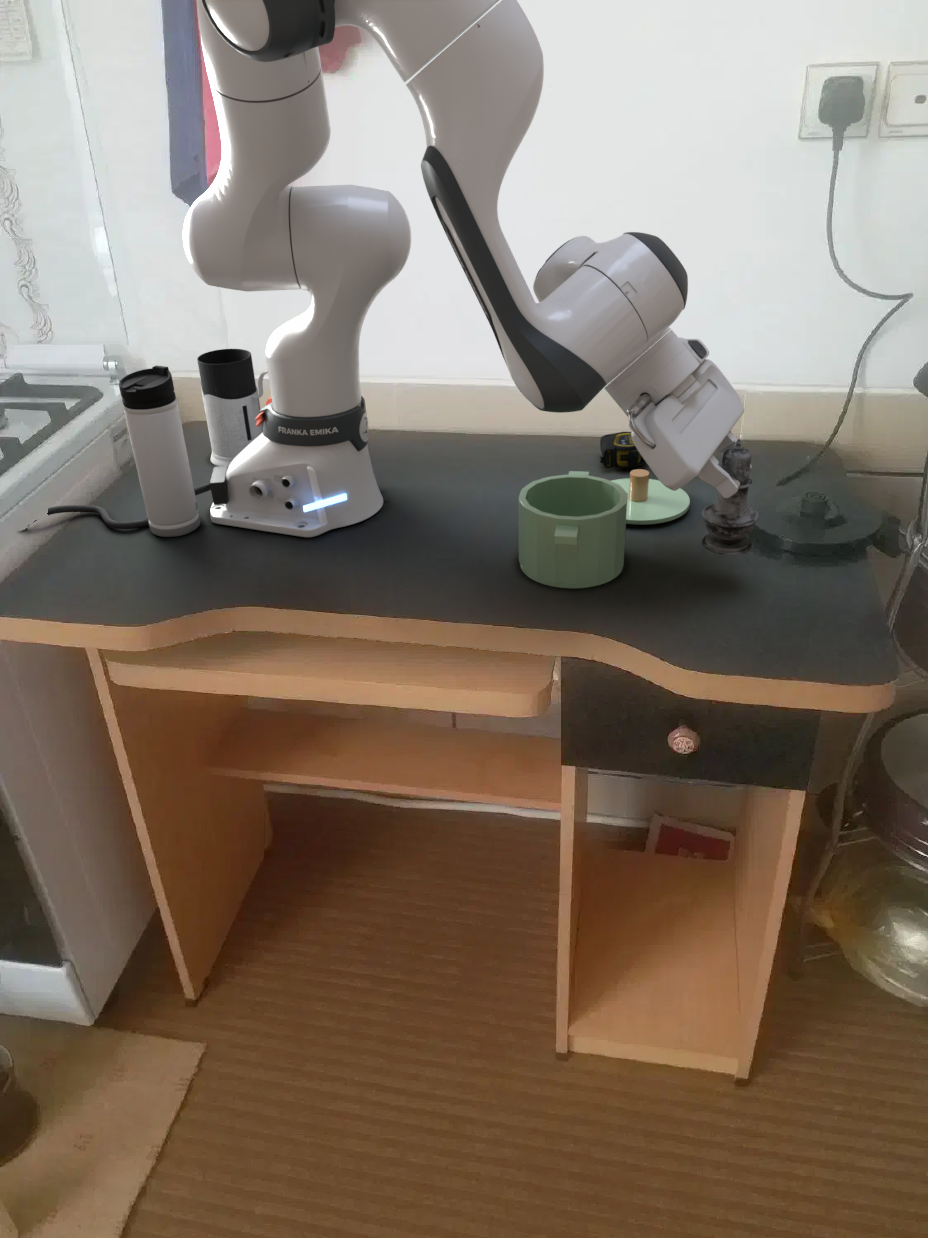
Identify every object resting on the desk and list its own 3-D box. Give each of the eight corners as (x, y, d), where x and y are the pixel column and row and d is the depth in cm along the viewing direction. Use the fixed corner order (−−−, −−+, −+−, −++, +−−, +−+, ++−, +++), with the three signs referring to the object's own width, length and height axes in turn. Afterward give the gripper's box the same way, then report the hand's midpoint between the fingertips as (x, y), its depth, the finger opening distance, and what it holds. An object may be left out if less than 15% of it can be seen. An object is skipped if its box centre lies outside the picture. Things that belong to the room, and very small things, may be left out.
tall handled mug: (234, 442, 152) (218, 344, 144) (312, 454, 146) (300, 354, 138) (198, 462, 145) (179, 361, 137) (278, 476, 139) (263, 372, 132)
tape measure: (599, 454, 142) (600, 429, 140) (647, 454, 142) (649, 429, 140) (599, 473, 136) (600, 447, 135) (649, 473, 136) (651, 447, 134)
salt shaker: (756, 558, 104) (770, 451, 97) (699, 554, 105) (709, 448, 99) (753, 533, 109) (767, 429, 102) (698, 529, 110) (709, 427, 103)
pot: (509, 597, 108) (508, 527, 104) (529, 527, 123) (529, 463, 118) (619, 604, 106) (623, 533, 102) (626, 532, 121) (630, 467, 116)
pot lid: (583, 526, 122) (584, 491, 120) (590, 484, 133) (591, 451, 131) (690, 531, 120) (693, 496, 118) (688, 488, 131) (691, 454, 129)
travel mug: (212, 519, 128) (184, 367, 118) (179, 541, 123) (147, 384, 113) (173, 512, 130) (142, 362, 120) (140, 533, 125) (104, 378, 115)
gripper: (646, 394, 92) (739, 507, 93) (705, 335, 107) (784, 432, 108) (598, 433, 96) (689, 541, 97) (662, 370, 111) (739, 464, 112)
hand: (740, 483), depth 103 cm, fingers closed on salt shaker, 3 cm apart
